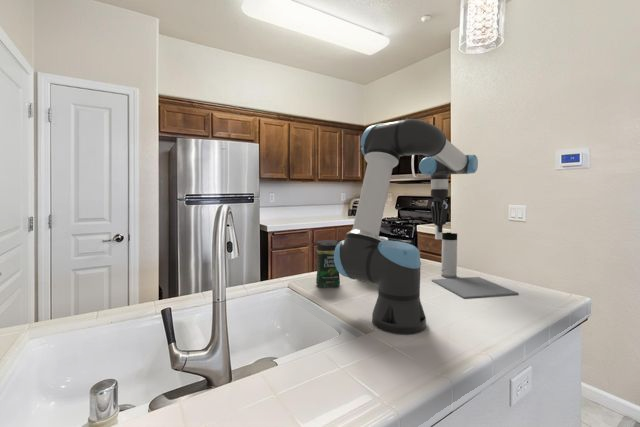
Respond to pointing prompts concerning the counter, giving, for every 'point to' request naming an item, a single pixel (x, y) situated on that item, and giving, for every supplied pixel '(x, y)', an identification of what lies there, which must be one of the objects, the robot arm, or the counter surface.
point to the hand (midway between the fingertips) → (438, 239)
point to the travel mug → (449, 255)
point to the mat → (473, 287)
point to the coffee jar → (327, 264)
